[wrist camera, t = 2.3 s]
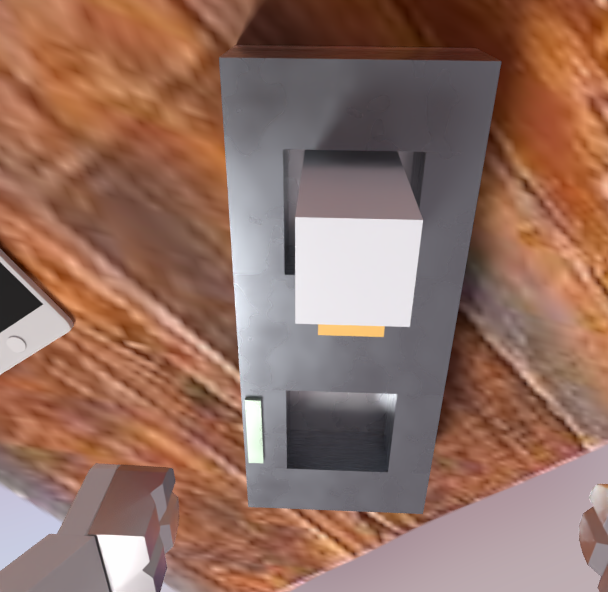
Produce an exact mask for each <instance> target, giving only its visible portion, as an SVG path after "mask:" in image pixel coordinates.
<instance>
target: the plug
mask: <svg viewBox="0 0 608 592" xmlns="http://www.w3.org/2000/svg"><path fill="white" fill-rule="evenodd" d="M422 224H423V219H422V216H421V213H420V211H419V208H418V205H417V202H416V200H415V197H414V194H413V192H412V189H411V186H410V184H409V181H408V178H407V176H406V173H405V170H404V168H403V165H402V162H401V160H400V157H399V154H398V151H353V150H305V153H304V160H303V167H302V174H301V181H300V187H299V194H298V201H297V208H296V215H295V324H318V335H331V336H365V337H384V329H385V326H394V327H410V321H411V313H412V305H413V297H414V289H415V281H416V273H417V265H418V257H419V249H420V241H421V233H422Z"/></svg>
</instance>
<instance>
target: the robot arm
mask: <svg viewBox="0 0 608 592" xmlns="http://www.w3.org/2000/svg"><path fill="white" fill-rule="evenodd" d="M174 484H175V477H174V471H173V469H172V468H166V467H151V466H135V465H114V464H98V463H96V464H95V465H94V466H93V467H92V468H91V469H90V470H89V472H88V474H87V476H86V478H85V480H84V482H83V484H82V486H81V488H80V490H79V492H78V493H77V495H76V497H75V499H74V501H73V503H72V505H71V507H70V509H69V511H68V513H67V515H66V517H65V519H64V521H63V523H62V526H61V527H60V529H59V531H58V533H57V534H49V535H47V536H46V537H45V538H43V539H42V540H41V541H40V542H38V543H37V544H35V545H34V546H33V547H31V548H30V549H29V550H28V551H26V552H25V553H24V554H22V555H21V556H20V557H18V558H17V559H16V560H14V561H13V562H12V563H10V564H9V565H8V566H6V567H5V568H4V569H2V570H1V571H0V592H160V591H161V587H162V584H163V580H164V577H165V574H166V570H167V564H166V558H165V554H166V553H167V552H168V551H169V550H170V549H171V548H172V547H173V545H174V542H175V538H176V534H177V528H178V521H179V502H178V497H177V496H176V495H175V494H174V493H173V492H172V490H173V487H174ZM589 499H590V501H591V503H592V505H593V507H592V508H590V509H589V510H587V511H586V512H585V513H583V515H582V518H581V521H580V525H579V541H580V545H581V548H582V553H583V555H584V557H585V560H586V562H587V564H588V566H590V567H591V568H592V569H593V570H594V571H595V572H597V573H598V574H599V575H600V576H601V579H600V582H599V585H598V589H599V592H608V484H597V485H596V486H595V487H594V488H593V489H592V492H591V494H590V496H589Z"/></svg>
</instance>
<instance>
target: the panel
mask: <svg viewBox="0 0 608 592" xmlns="http://www.w3.org/2000/svg"><path fill="white" fill-rule="evenodd" d="M219 63H220V79H221V94H222V109H223V124H224V140H225V155H226V170H227V185H228V201H229V216H230V231H231V247H232V262H233V277H234V292H235V308H236V323H237V338H238V354H239V369H240V384H241V399H242V415H243V430H244V445H245V460H246V476H247V491H248V506H249V507H265V508H290V509H315V510H340V511H366V512H391V513H416V514H423V510H424V504H425V498H426V492H427V487H428V481H429V475H430V469H431V464H432V458H433V452H434V446H435V441H436V435H437V429H438V423H439V418H440V412H441V406H442V400H443V395H444V389H445V383H446V377H447V372H448V366H449V360H450V354H451V349H452V343H453V337H454V331H455V326H456V320H457V314H458V308H459V303H460V297H461V291H462V285H463V280H464V274H465V268H466V263H467V257H468V251H469V245H470V240H471V234H472V228H473V222H474V217H475V211H476V205H477V199H478V194H479V188H480V182H481V176H482V171H483V165H484V159H485V153H486V148H487V142H488V136H489V130H490V125H491V119H492V113H493V107H494V102H495V96H496V90H497V84H498V79H499V73H500V67H501V61H500V60H498V59H496V58H494V57H492V56H491V55H489V54H487V53H485V52H483V51H481V50H479V49H477V48H446V47H365V46H283V45H235V46H234V47H232V48H231V49H230V50H228V51H227V52H226V53H224V54H223V55H222V56H220V57H219ZM305 150H353V151H398V154H399V157H400V160H401V162H402V165H403V168H404V170H405V173H406V176H407V178H408V181H409V184H410V186H411V189H412V192H413V194H414V197H415V200H416V202H417V205H418V208H419V211H420V213H421V216H422V219H423V224H422V233H421V241H420V249H419V257H418V265H417V273H416V281H415V289H414V297H413V305H412V313H411V321H410V327H394V326H385V329H384V337H365V336H331V335H318V324H295V215H296V208H297V201H298V194H299V187H300V181H301V174H302V167H303V160H304V153H305Z"/></svg>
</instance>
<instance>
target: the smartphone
mask: <svg viewBox="0 0 608 592" xmlns="http://www.w3.org/2000/svg"><path fill="white" fill-rule="evenodd" d="M73 326H74V325H73V322H72V320H71V319H70V317H69V316H68V315H67V314H66V313H65V312H64V311H63V310H62V309H61V308H60V307H59V306H58V305H57V304H56V303H55V302H54V301H53V300H52V299H51V298H50V297H49V296H48V295H47V294H46V293H45V292H44V291H43V290H42V289H40V288H39V287H38V286H37V285H36V284H35V283H34V282H33V281H32V280H31V279H30V278H29V277H28V276H27V275H26V274H25V273H24V272H23V271H22V270H21V269H20V268H19V267H18V266H17V265H16V264H15V263H14V262H13V261H12V260H11V259H10V258H9V257H8V256H7V255H6V254H5V253H4V252H3V251H2V250H1V249H0V374H2V373H4V372H5V371H7V370H8V369H10V368H12V367H13V366H15V365H16V364H18V363H20V362H21V361H23V360H24V359H26V358H28V357H29V356H31V355H32V354H34V353H36V352H37V351H39V350H40V349H42V348H43V347H45V346H47V345H48V344H50V343H51V342H53V341H55V340H56V339H58V338H59V337H61V336H63V335H64V334H66V333H67V332H69V331H70V330H71V329H72V327H73Z"/></svg>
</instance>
